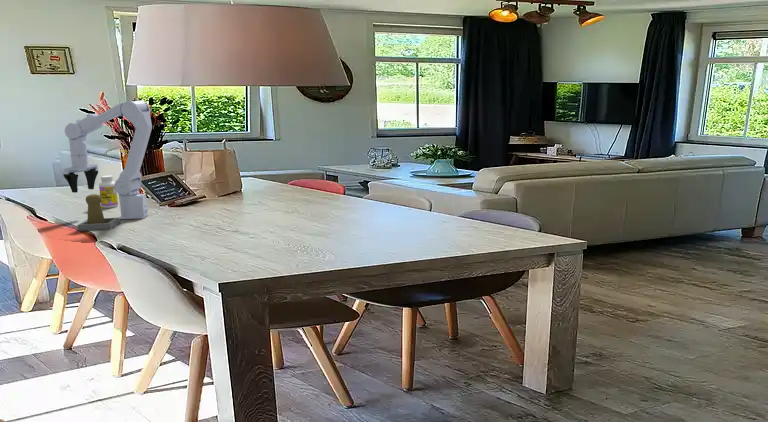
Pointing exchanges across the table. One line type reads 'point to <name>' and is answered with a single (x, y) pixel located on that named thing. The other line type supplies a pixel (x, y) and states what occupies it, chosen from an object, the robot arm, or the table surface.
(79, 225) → the socket holder
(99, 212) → the cork
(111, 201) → the supplement bottle
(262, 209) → the table surface
